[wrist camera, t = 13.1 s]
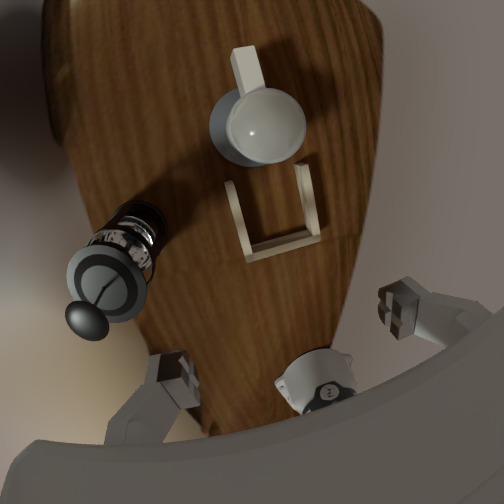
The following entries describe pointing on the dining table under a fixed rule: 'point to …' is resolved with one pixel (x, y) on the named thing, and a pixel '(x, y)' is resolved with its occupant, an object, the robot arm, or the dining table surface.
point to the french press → (113, 272)
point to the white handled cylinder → (262, 114)
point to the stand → (282, 242)
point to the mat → (219, 135)
